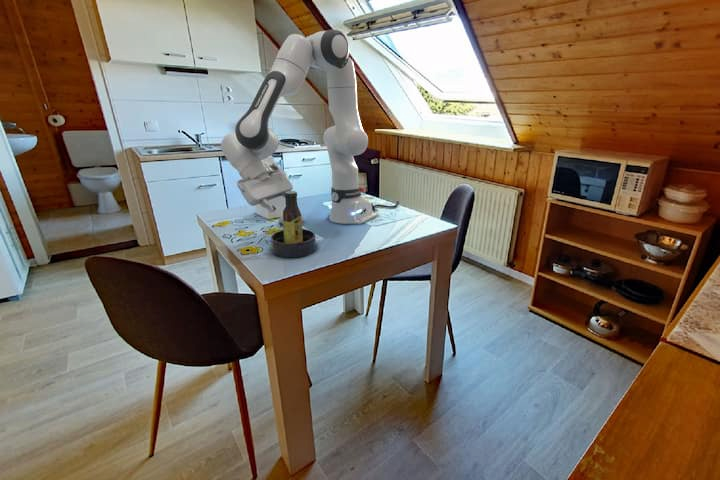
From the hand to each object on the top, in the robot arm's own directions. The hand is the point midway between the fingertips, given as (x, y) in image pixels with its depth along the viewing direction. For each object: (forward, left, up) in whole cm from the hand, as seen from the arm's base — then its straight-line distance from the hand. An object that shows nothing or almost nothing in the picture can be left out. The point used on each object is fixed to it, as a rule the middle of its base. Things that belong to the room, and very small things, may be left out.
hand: (282, 207), depth 116 cm
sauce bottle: (-1, +3, -14) cm, 15 cm away
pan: (-1, +3, -15) cm, 15 cm away
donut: (-17, -21, -15) cm, 31 cm away
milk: (-19, -38, -15) cm, 45 cm away
